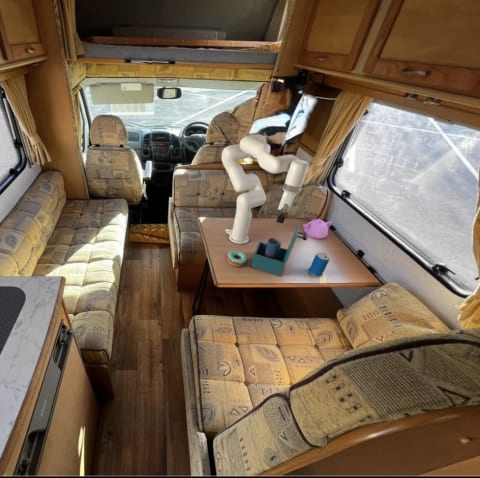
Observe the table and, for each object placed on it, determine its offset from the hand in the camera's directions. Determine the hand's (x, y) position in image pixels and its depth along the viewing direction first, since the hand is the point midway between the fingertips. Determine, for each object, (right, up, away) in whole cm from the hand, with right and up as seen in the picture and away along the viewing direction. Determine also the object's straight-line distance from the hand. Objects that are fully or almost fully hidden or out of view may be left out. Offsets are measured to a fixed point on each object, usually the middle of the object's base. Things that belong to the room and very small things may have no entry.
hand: (281, 218), depth 132 cm
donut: (-18, -23, +16) cm, 34 cm away
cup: (-1, -24, +14) cm, 28 cm away
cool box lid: (+6, -13, +1) cm, 14 cm away
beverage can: (+22, -29, +8) cm, 38 cm away
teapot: (+40, -8, +40) cm, 57 cm away
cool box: (-1, -25, +14) cm, 29 cm away
